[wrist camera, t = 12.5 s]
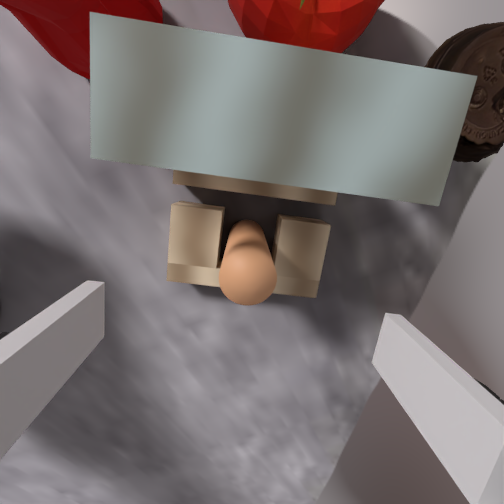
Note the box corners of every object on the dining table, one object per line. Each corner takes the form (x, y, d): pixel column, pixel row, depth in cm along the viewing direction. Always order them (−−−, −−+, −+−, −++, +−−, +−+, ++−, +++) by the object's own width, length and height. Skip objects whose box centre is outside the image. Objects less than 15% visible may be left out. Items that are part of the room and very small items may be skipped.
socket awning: (175, 268, 34) (92, 380, 16) (186, 113, 30) (89, 11, 11) (308, 284, 35) (379, 407, 16) (337, 136, 31) (477, 76, 12)
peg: (227, 251, 34) (215, 301, 20) (231, 217, 33) (222, 246, 19) (261, 255, 34) (272, 308, 20) (266, 221, 33) (281, 254, 19)
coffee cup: (434, 161, 32) (558, 153, 19) (358, 171, 32) (432, 169, 19) (437, 73, 29) (580, -4, 17) (355, 84, 30) (437, 16, 17)
